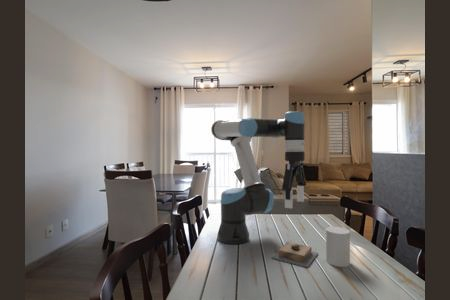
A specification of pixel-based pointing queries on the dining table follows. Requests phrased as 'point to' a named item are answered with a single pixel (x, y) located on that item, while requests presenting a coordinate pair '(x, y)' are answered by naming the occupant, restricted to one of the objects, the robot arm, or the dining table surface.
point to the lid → (295, 251)
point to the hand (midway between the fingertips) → (294, 204)
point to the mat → (304, 264)
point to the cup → (338, 246)
